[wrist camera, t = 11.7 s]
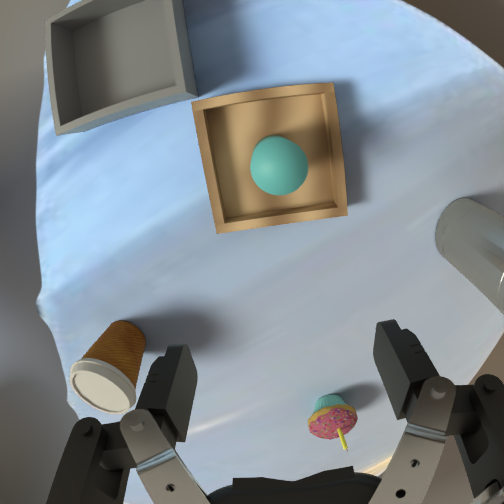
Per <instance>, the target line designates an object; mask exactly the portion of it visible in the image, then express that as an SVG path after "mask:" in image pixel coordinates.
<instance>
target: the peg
mask: <svg viewBox="0 0 504 504" xmlns="http://www.w3.org/2000/svg"><path fill="white" fill-rule="evenodd" d="M250 170H251V175H252V178H253V180H254V182H255V183H256V184H257V186H258V187H259V188H260V189H262V190H263V191H265V192H267V193H269V194H272V195H286V194H290V193H292V192H294V191H296V190H297V189H298V188H299V187H300V186H301V185H302V184H303V183H304V181H305V179H306V177H307V174H308V161H307V157H306V155H305V153H304V152H303V150H302V149H301V148H300V147H299V146H298V145H297V144H295V143H294V142H292V141H290V140H288V139H286V138H284V137H282V136H279V135H269V136H266V137H264V138H262V139H260V140H259V141H258V142H257V144H256V145H255V147H254V150H253V154H252V159H251V164H250Z"/></svg>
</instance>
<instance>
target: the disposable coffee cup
mask: <svg viewBox="0 0 504 504" xmlns="http://www.w3.org/2000/svg"><path fill="white" fill-rule="evenodd" d="M145 345H146V339H145V337H144V335H143V333H142V332H141V331H140V329H139V328H137V327H136V326H135V325H133V324H131V323H129V322H126V321H115V322H113V323H112V324H111V325H110V326H109V327H108V328H107V329H106V331H105V332H104V333H103V334H102V335H101V336H100V337H99V338H98V340H97V341H96V342H95V343H94V344H93V345H92V347H91V348H90V349H89V350H88V351H87V352H86V354H85V355H84V356H83V357H82V358H81V359H80V360H78V361H76V362H75V363H74V364H73V365H72V366H71V370H70V373H71V375H70V384H71V386H72V388H73V390H74V392H75V393H76V394H77V395H78V396H79V397H80V398H81V399H82V400H83V401H84V402H86V403H87V404H89V405H90V406H92V407H93V408H95V409H97V410H100V411H102V412H105V413H110V414H123V413H125V412H127V411H128V409H129V408H131V407H132V406H133V405H134V404H135V402H136V392H135V389H136V383H137V379H138V375H139V370H140V366H141V361H142V357H143V352H144V349H145Z"/></svg>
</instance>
